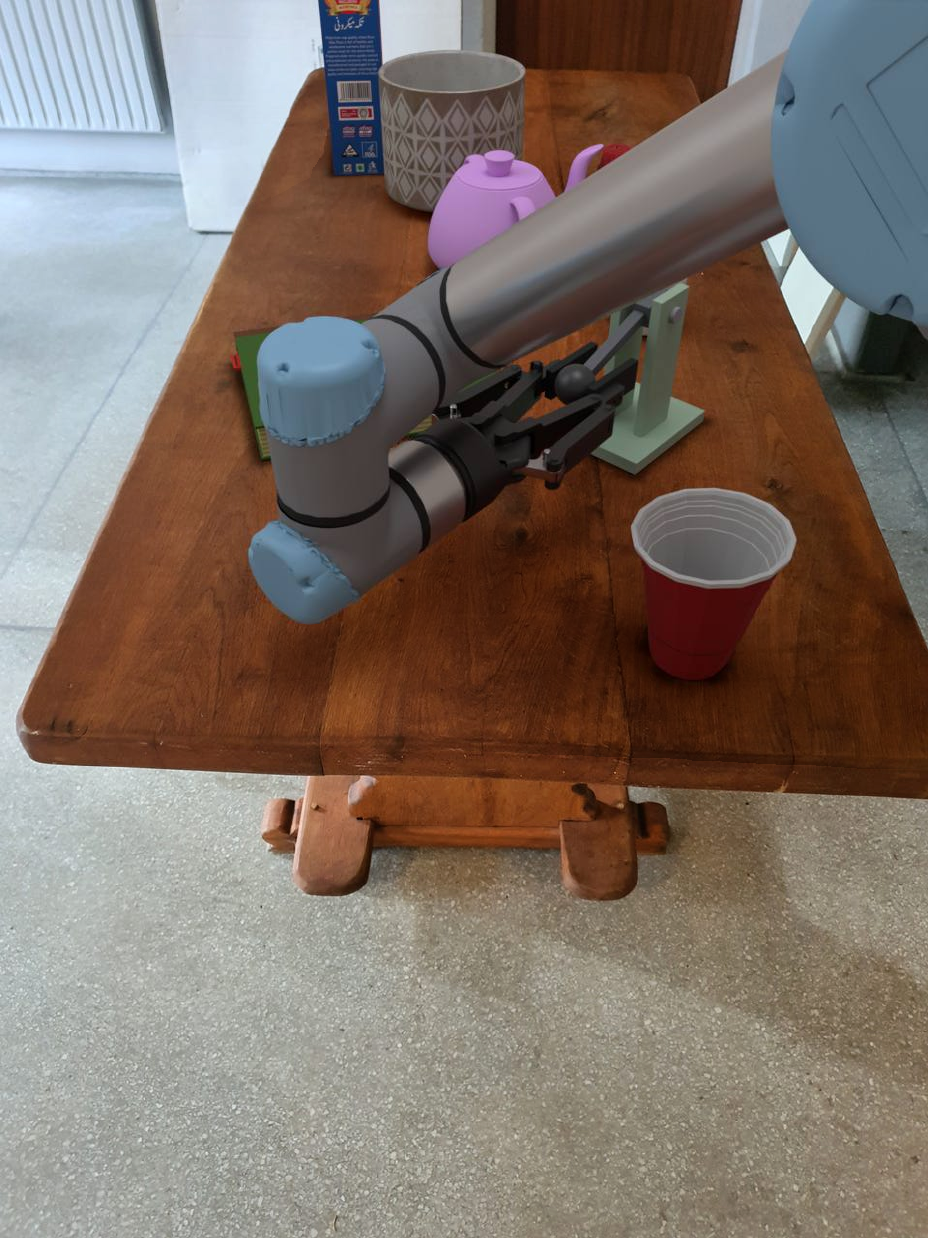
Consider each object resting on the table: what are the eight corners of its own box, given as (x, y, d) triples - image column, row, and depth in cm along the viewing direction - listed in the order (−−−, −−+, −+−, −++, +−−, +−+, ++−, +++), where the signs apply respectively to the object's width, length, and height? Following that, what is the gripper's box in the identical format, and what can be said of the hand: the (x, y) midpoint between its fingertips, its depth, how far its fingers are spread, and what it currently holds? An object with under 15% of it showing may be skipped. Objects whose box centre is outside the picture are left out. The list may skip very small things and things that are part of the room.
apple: (608, 204, 134) (613, 155, 129) (576, 186, 139) (579, 138, 134) (653, 193, 136) (659, 145, 132) (620, 176, 141) (625, 129, 137)
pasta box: (387, 173, 142) (375, -51, 123) (334, 175, 142) (313, -50, 122) (385, 114, 162) (374, -88, 143) (338, 115, 162) (321, -87, 142)
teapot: (630, 290, 114) (646, 171, 105) (462, 320, 109) (462, 197, 99) (556, 222, 129) (564, 112, 120) (405, 245, 124) (400, 132, 114)
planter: (418, 235, 126) (412, 99, 115) (366, 186, 139) (356, 59, 127) (544, 210, 132) (552, 79, 121) (484, 165, 145) (485, 43, 133)
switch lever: (582, 421, 81) (577, 391, 78) (548, 406, 82) (543, 376, 79) (675, 317, 85) (674, 285, 82) (642, 305, 87) (640, 273, 84)
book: (454, 333, 107) (454, 301, 104) (505, 420, 94) (506, 387, 92) (232, 365, 102) (226, 333, 100) (253, 462, 89) (247, 428, 87)
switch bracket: (634, 475, 88) (657, 327, 77) (557, 439, 92) (569, 293, 82) (703, 421, 94) (732, 277, 84) (628, 389, 98) (647, 249, 88)
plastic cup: (653, 584, 77) (676, 462, 69) (780, 639, 72) (821, 515, 64) (586, 664, 71) (602, 540, 62) (720, 729, 66) (757, 606, 58)
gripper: (360, 479, 78) (536, 370, 90) (517, 569, 70) (686, 435, 83) (353, 400, 73) (541, 295, 85) (521, 487, 65) (701, 357, 77)
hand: (612, 364), depth 84 cm, fingers closed on switch lever, 4 cm apart
